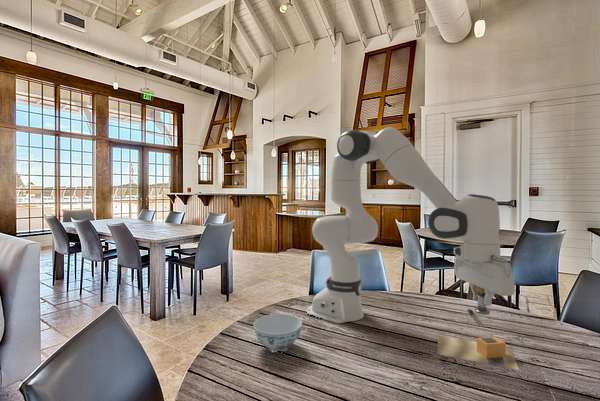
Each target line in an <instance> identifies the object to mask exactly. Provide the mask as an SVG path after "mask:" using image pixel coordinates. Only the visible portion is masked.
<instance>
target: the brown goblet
mask: <svg viewBox="0 0 600 401" xmlns="http://www.w3.org/2000/svg"><path fill="white" fill-rule="evenodd" d="M476 294H477V295H478V301H477V307H476V308H474V312H475V313H476V314H478V315H486V316H487V315H490V312H491V311H490V310H489V309H488V306H486V305H484V304H483V303H482V298H484V297H485V294H486V293H484V289H483V288H481V287H478V286H476Z"/></svg>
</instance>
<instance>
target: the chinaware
mask: <svg viewBox="0 0 600 401" xmlns="http://www.w3.org/2000/svg"><path fill="white" fill-rule="evenodd" d="M302 327H303V321H302V319H300V318H299V317H298V316H295V315H291V314H286V313H285V314H284V313H274V314H273V313H272V314H268V315H264V316H262V317H259V318H257V319H256V320H255V321H254V323H253V330H254V332H255V337H257V339H258V341H259V343H260V344H261V345H263V346H264V347H265V348H267V349H268V348H269V349H270V350H273V351H284V350H286V349H288V347H289V348H290V347H291V346H292V345H293V344H294V343H295V342H296V341H297V340H298V338H299V336H300V335H301V331H302ZM288 350H289V349H288ZM286 351H287V350H286Z"/></svg>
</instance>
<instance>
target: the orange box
mask: <svg viewBox="0 0 600 401" xmlns="http://www.w3.org/2000/svg"><path fill="white" fill-rule="evenodd" d="M476 342H477V352H478V353H480V354H481V355H482V356H484V357H485V358H496V357H505V356H506V347H507V345H506V344H507V343H506V342H505V341H504V340H502V339H501V338H499V337H497V336H485V337H477V338H476Z"/></svg>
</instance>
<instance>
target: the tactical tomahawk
mask: <svg viewBox="0 0 600 401" xmlns="http://www.w3.org/2000/svg"><path fill="white" fill-rule="evenodd" d="M467 312H468V314H469V316H471V318H472V319H473V320H474V321H475V323H477V324H478V325H479V327H485V325H484V323H482V321H481V320H480V319H479V318H478V317H477V316H476V315H475V314H474V310H472V309H469V308H467Z"/></svg>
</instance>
